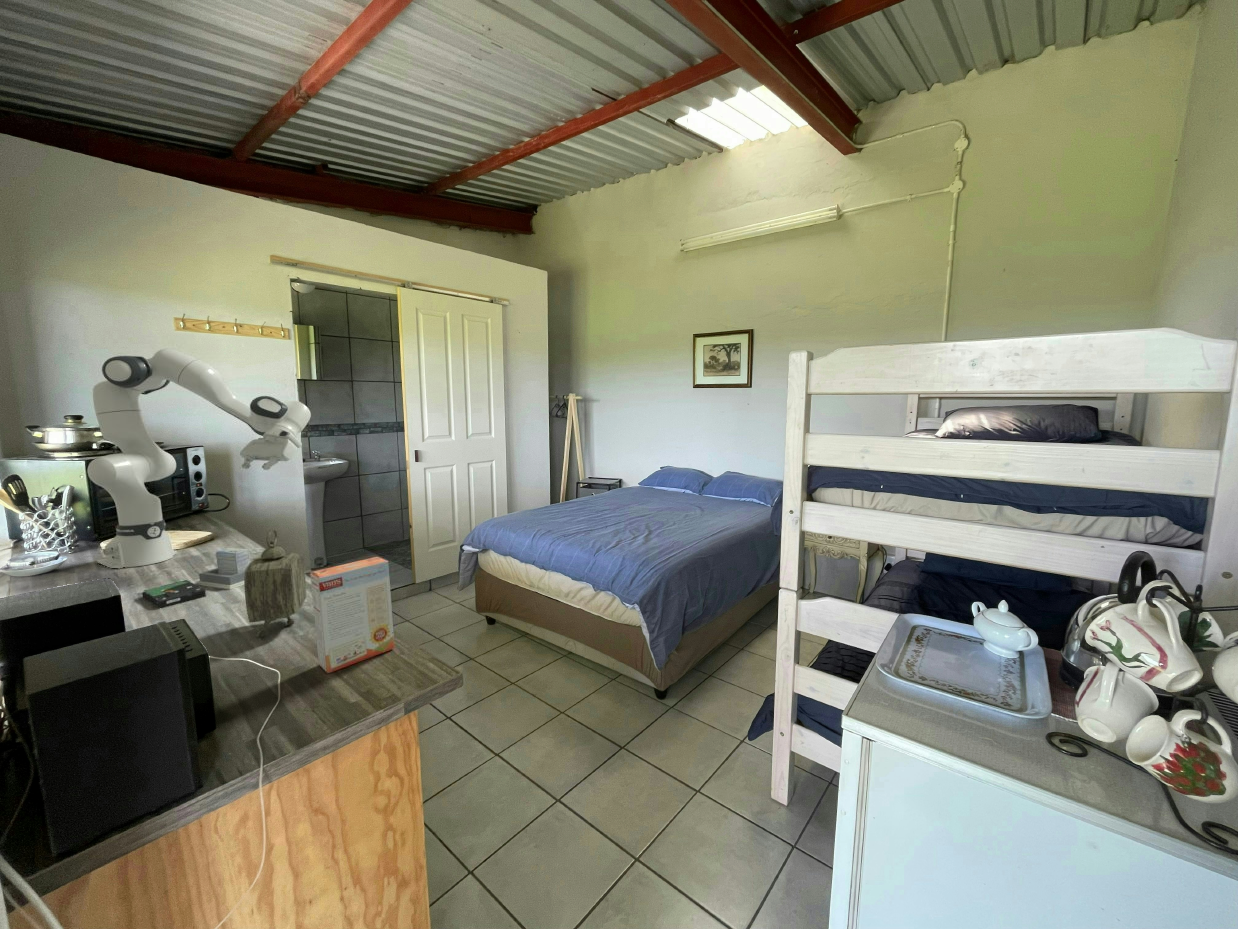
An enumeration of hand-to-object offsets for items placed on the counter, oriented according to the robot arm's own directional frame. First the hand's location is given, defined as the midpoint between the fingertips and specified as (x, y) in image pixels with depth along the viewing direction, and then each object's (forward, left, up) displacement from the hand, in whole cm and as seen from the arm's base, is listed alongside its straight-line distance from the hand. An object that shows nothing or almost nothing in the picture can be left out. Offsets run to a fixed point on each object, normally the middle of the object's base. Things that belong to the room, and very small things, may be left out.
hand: (254, 468), depth 169 cm
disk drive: (+7, -32, -34) cm, 47 cm away
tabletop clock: (+55, -38, -34) cm, 75 cm away
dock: (+10, -16, -33) cm, 38 cm away
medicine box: (+10, -17, -33) cm, 38 cm away
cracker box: (+85, -45, -34) cm, 102 cm away
